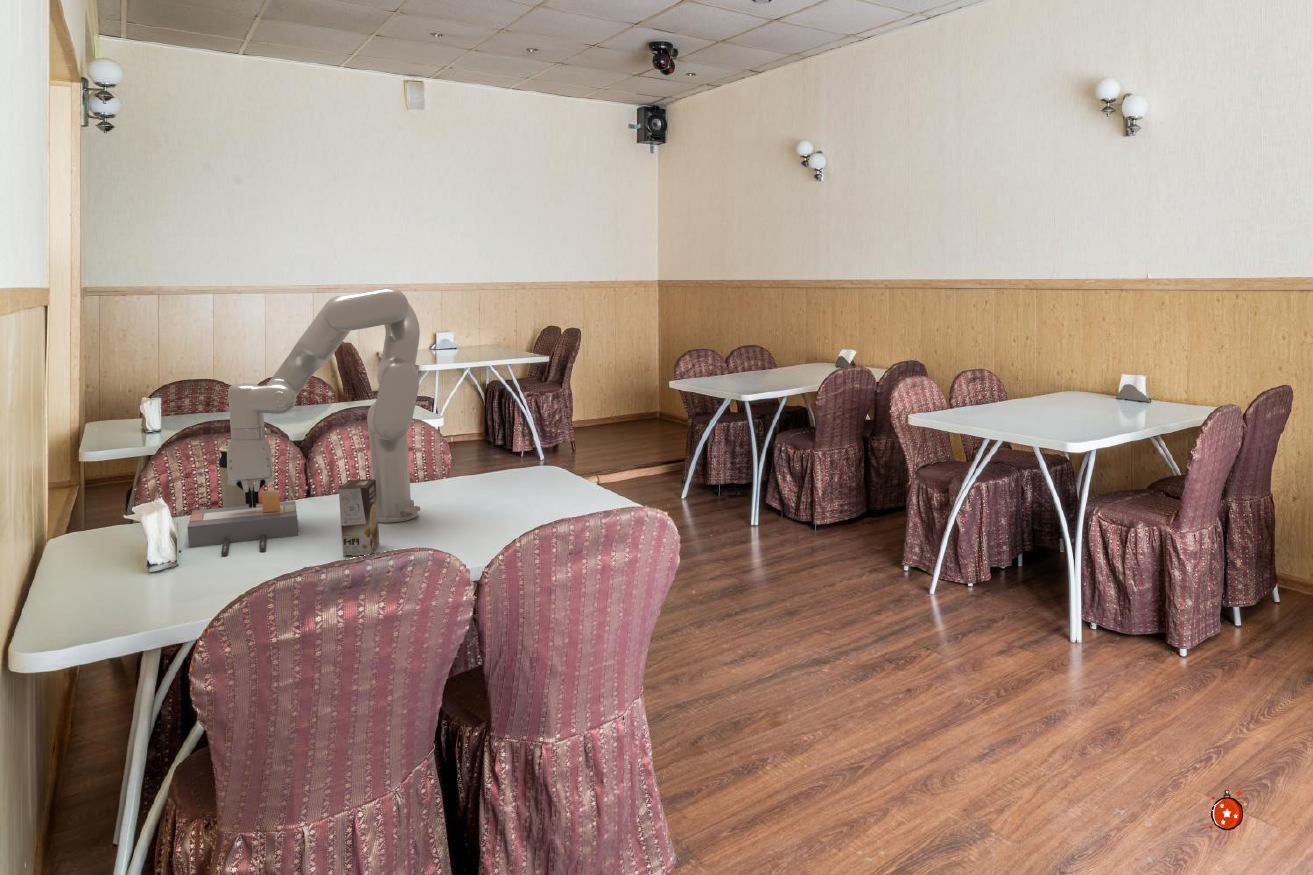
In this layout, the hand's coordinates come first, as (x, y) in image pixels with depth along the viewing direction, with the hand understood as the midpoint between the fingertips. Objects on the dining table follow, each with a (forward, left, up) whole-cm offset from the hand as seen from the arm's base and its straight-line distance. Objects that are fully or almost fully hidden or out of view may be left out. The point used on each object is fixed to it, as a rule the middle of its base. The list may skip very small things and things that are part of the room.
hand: (252, 506), depth 219 cm
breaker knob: (-3, -3, -1) cm, 4 cm away
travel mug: (+20, -10, -7) cm, 23 cm away
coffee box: (-36, -1, -7) cm, 36 cm away
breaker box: (-3, +5, -7) cm, 9 cm away
